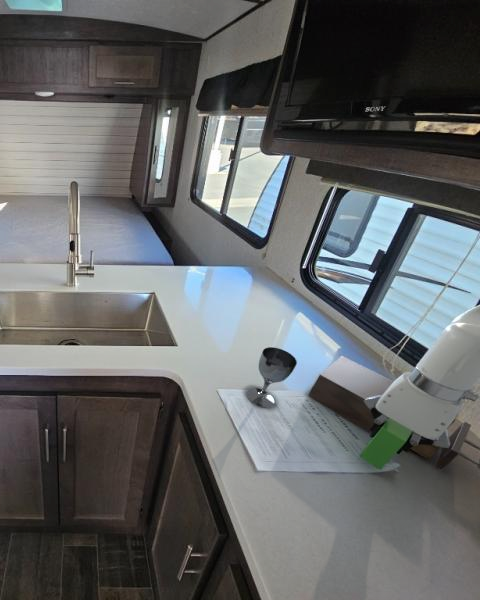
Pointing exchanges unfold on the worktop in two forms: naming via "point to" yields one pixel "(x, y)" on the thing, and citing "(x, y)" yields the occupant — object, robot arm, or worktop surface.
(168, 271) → the worktop surface
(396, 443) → the green rectangular prism
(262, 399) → the wine glass
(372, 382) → the cabinet
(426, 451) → the drawer
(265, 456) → the worktop surface
